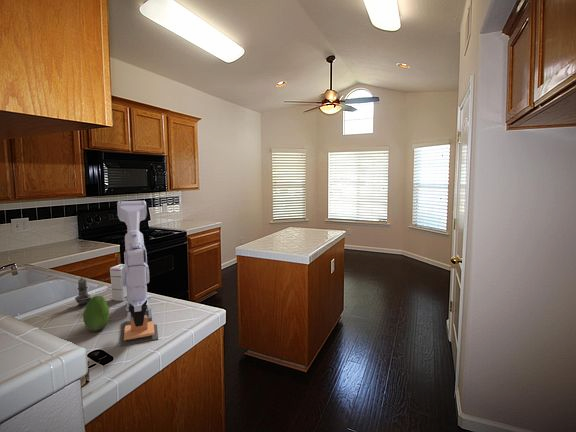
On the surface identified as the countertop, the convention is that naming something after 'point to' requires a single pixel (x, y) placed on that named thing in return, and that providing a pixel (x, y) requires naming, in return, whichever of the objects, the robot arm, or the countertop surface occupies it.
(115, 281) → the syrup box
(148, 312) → the box
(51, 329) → the countertop surface
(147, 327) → the lid
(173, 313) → the countertop surface
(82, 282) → the candlestick holder
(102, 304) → the avocado
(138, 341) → the mat
